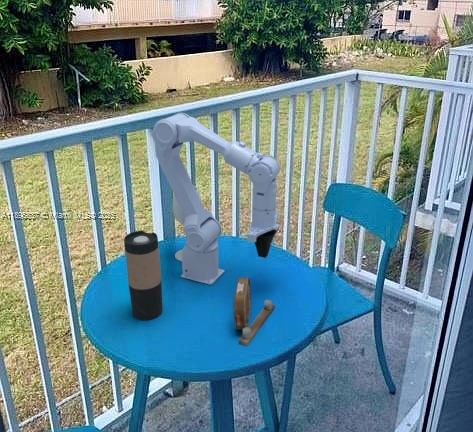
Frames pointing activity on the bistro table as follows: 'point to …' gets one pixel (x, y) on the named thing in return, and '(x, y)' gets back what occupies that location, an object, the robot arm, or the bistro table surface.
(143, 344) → the bistro table surface
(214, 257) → the robot arm
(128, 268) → the travel mug
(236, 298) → the tin
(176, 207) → the wineglass
